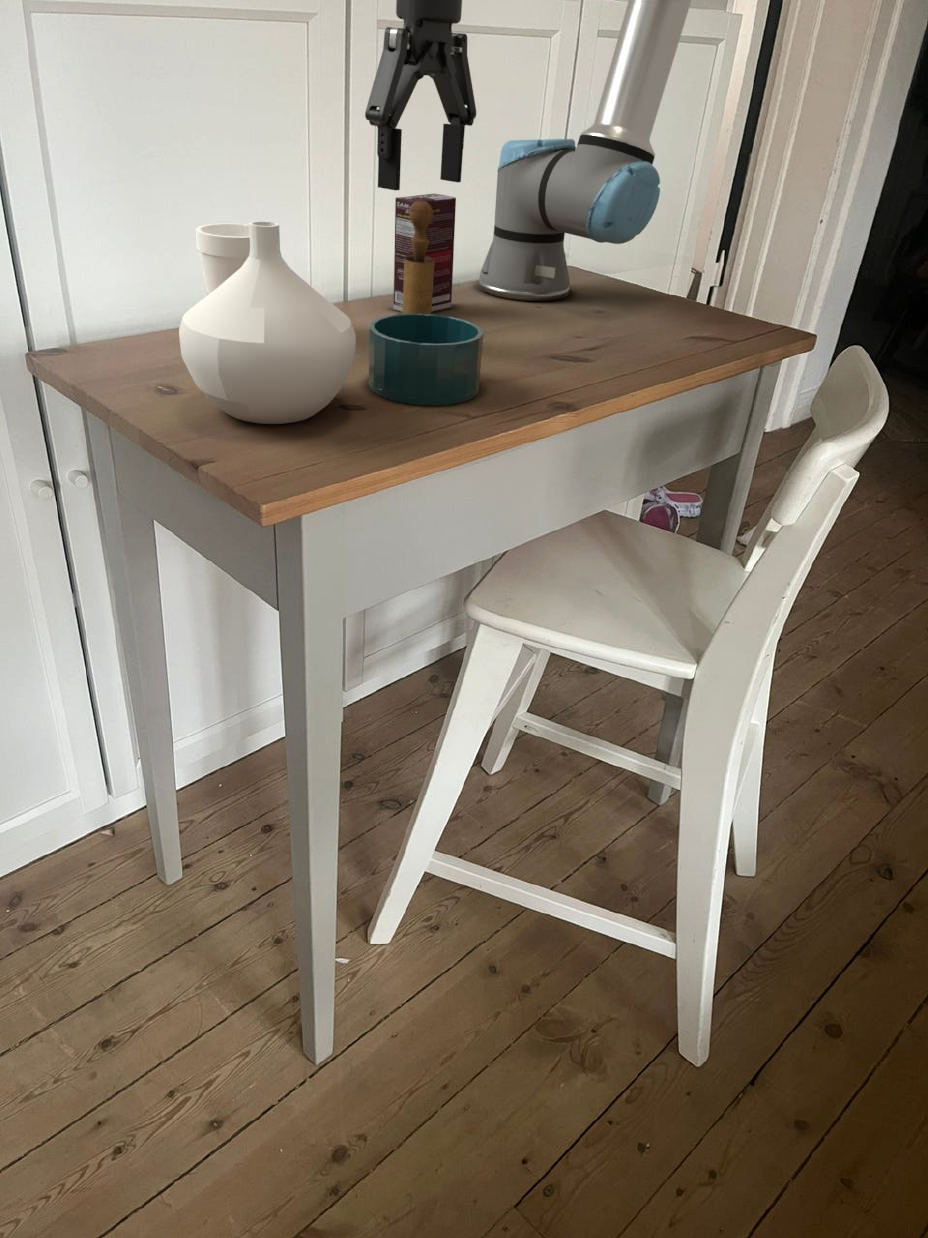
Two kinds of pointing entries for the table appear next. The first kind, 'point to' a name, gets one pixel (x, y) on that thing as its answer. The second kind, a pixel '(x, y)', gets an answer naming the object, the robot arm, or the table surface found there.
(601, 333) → the table surface
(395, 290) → the supplement box
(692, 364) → the table surface
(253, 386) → the vase
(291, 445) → the table surface
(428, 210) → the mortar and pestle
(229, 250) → the foam cup
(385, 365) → the crock
